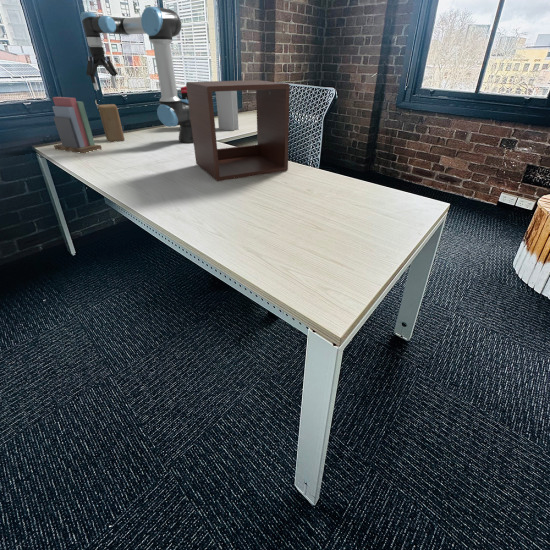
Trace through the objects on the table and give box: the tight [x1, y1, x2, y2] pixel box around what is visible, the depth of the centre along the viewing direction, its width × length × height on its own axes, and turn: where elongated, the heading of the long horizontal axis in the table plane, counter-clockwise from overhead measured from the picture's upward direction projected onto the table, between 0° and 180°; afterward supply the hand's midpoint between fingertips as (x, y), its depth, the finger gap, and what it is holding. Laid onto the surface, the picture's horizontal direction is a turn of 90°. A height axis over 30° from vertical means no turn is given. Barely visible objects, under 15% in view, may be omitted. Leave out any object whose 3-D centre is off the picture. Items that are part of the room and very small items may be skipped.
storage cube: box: [185, 79, 291, 182], centre depth 148 cm, size 35×29×35 cm
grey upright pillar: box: [215, 91, 240, 132], centre depth 234 cm, size 14×6×30 cm, turn 58°
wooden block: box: [97, 103, 125, 143], centre depth 205 cm, size 10×10×20 cm
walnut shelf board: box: [53, 143, 102, 154], centre depth 189 cm, size 24×12×2 cm, turn 64°
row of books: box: [52, 96, 96, 148], centre depth 183 cm, size 15×10×24 cm
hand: (106, 88), depth 202 cm, fingers open, 13 cm apart
